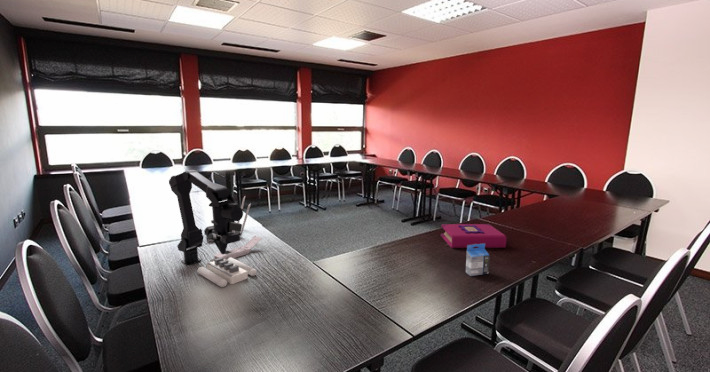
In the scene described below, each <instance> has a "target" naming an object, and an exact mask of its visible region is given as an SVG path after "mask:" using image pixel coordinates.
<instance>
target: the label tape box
mask: <svg viewBox="0 0 710 372" xmlns="http://www.w3.org/2000/svg"><path fill="white" fill-rule="evenodd" d="M476 246H477V247H479V248H473V247H476ZM465 255H466V256H465V257H466V260H465V273H466V274H467V275H468V276H470V277H474V276H475V277H476V276H479V275H480V276H481V275H488V274H489V272H490V257H491V256H490V254H489V252H488V251H487V250H486V248H485V244H475V245H467V248H466V254H465Z"/></svg>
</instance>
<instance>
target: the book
mask: <svg viewBox="0 0 710 372" xmlns="http://www.w3.org/2000/svg"><path fill="white" fill-rule="evenodd" d="M440 225H441V226H440V228H441V229H442V230H444V231H445V232H443V233H440V237H441V238H442V239H443V241H445V242H446V244H447V245H448V246H449V247H450V248H451V249H461V248H462V249H467V245H475V244H485V249H491V248H492V249H493V248H495V249H496V248H497V249H499V248H501V249H505V248H506V247H507V235H506V234H504V233H502V232H501V231H500V230H499V229H497V228H495V226H493V225H491V224H489V223H480V224H479V223H473V224H472V223H471V224H470V223H466V224H465V223H461V224H459V223H456V224H455V223H454V224H453V223H452V224H449V223H442V224H440ZM473 248H479V247H477V246H476V247H473Z"/></svg>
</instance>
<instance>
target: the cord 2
mask: <svg viewBox="0 0 710 372" xmlns="http://www.w3.org/2000/svg"><path fill="white" fill-rule="evenodd" d="M228 261H229V262H232V263H234V265H238V266H239V267H240V268H242V269H244V270H246V271H247V273H248V276H251V277H254V276H256V275H257V269H255V268H253V267H252V266H249V265H248V264H246V263H244V262H242V261H239V260H237V259H236V258H232V257H230V258H228Z"/></svg>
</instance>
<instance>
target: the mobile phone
mask: <svg viewBox="0 0 710 372" xmlns="http://www.w3.org/2000/svg"><path fill="white" fill-rule="evenodd" d="M262 239H263V238H262V237H260V236H256V235H255V236H253V237H252V238H251V239H250V240H249V241H248V242H246V244H245V245H243V246H239V247H236V248H232V249H226V252H225V254H221V252H220V251H219V252H218V253H216V254H214V258H212V259H210V260H209V262H213V261H214V259H217V258H221V257H222V258H224V260H228V258H230V257H232V258H234V259H236V258H239V257H242V256H245V255H248V254H250V252H251V250H252V248H254V247H255V246H256V245H257V244H258V243H259V242H260V241H262Z"/></svg>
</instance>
